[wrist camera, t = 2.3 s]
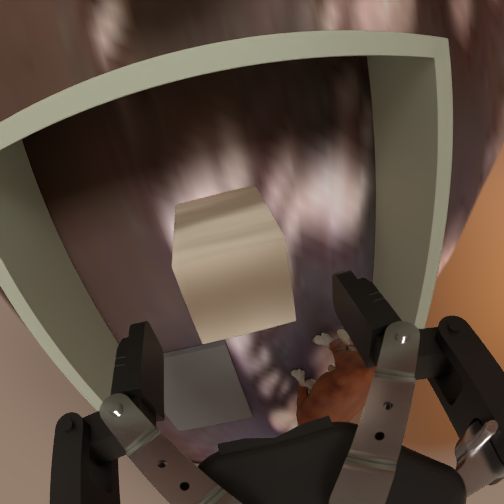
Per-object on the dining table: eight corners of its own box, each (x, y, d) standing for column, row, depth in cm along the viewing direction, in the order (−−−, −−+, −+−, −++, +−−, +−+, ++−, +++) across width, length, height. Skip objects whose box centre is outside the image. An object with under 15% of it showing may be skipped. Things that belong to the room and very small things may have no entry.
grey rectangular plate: (128, 359, 23) (128, 364, 23) (224, 339, 24) (225, 344, 23) (178, 427, 30) (178, 430, 29) (252, 413, 30) (252, 416, 30)
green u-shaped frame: (4, 130, 13) (-57, 160, 8) (378, 40, 14) (447, 38, 9) (112, 353, 23) (103, 417, 18) (382, 285, 24) (421, 336, 19)
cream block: (175, 204, 18) (171, 267, 12) (255, 185, 18) (285, 238, 13) (196, 269, 20) (202, 344, 15) (267, 252, 21) (295, 320, 15)
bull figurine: (255, 400, 29) (273, 473, 22) (338, 300, 24) (385, 382, 17) (291, 404, 31) (313, 471, 24) (374, 312, 26) (421, 384, 19)
